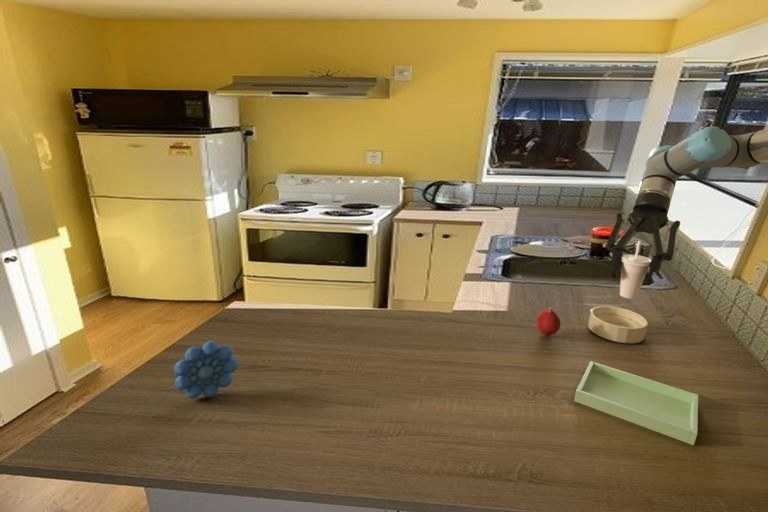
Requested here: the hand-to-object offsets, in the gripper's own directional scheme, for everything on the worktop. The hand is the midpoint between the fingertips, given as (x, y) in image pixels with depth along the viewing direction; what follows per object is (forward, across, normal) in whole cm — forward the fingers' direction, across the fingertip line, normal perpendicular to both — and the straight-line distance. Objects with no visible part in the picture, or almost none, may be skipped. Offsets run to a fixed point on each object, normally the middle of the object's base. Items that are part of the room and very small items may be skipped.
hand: (630, 278), depth 99 cm
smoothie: (+2, 0, -7) cm, 7 cm away
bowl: (+6, +2, -19) cm, 20 cm away
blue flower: (+63, +61, +37) cm, 96 cm away
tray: (+28, -7, +2) cm, 29 cm away
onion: (+16, +16, -10) cm, 25 cm away
